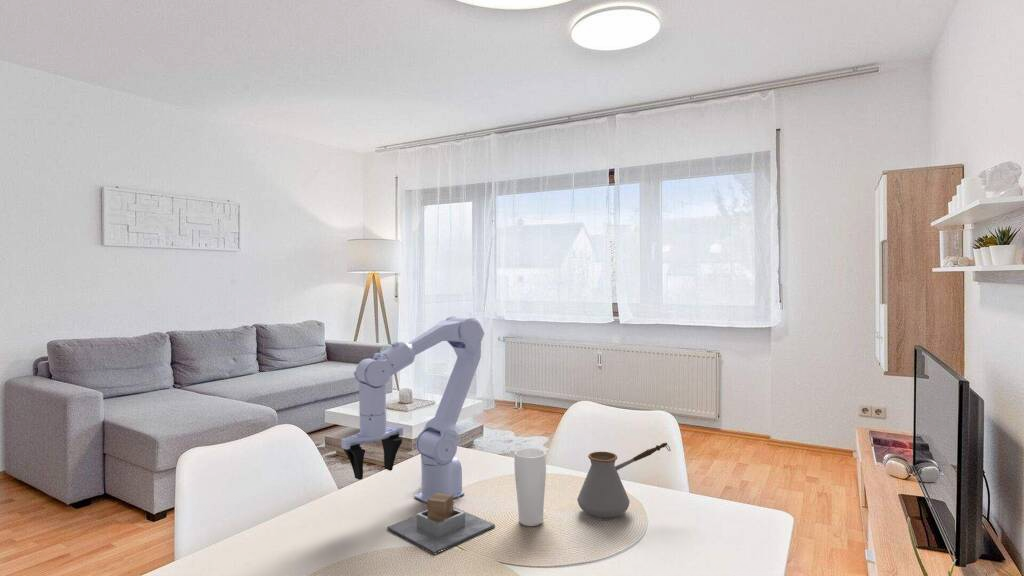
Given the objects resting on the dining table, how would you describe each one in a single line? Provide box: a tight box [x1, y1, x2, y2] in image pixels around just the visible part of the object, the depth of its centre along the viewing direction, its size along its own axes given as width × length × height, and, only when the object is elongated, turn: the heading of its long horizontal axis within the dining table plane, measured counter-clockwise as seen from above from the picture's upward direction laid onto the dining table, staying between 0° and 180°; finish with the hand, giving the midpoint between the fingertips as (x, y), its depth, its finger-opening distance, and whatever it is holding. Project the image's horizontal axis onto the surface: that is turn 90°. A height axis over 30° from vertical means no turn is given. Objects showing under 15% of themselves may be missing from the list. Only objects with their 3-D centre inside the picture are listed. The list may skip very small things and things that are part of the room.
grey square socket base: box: [386, 506, 496, 555], centre depth 117 cm, size 16×16×3 cm
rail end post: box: [426, 493, 454, 522], centre depth 117 cm, size 4×4×6 cm
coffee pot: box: [576, 442, 671, 521], centre depth 124 cm, size 21×12×15 cm, turn 98°
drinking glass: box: [514, 447, 547, 527], centre depth 119 cm, size 7×7×15 cm
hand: (374, 473), depth 124 cm, fingers open, 7 cm apart
